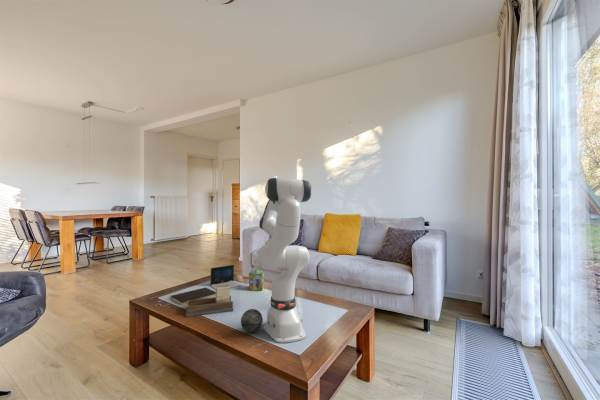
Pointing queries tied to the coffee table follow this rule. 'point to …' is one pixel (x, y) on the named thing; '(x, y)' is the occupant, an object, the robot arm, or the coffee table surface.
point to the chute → (207, 307)
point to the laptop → (223, 276)
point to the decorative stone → (251, 320)
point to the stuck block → (222, 293)
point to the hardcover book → (193, 295)
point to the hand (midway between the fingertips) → (255, 263)
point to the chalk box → (256, 280)
